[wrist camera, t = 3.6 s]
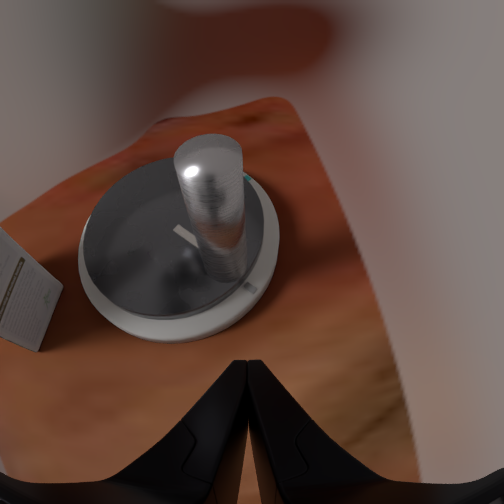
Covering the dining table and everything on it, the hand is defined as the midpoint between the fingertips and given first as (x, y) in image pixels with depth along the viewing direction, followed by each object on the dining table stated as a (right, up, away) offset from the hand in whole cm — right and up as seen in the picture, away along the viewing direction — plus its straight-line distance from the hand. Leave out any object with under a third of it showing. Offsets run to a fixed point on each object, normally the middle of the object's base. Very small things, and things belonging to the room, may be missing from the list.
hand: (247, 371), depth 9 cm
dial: (-5, +5, +11) cm, 13 cm away
